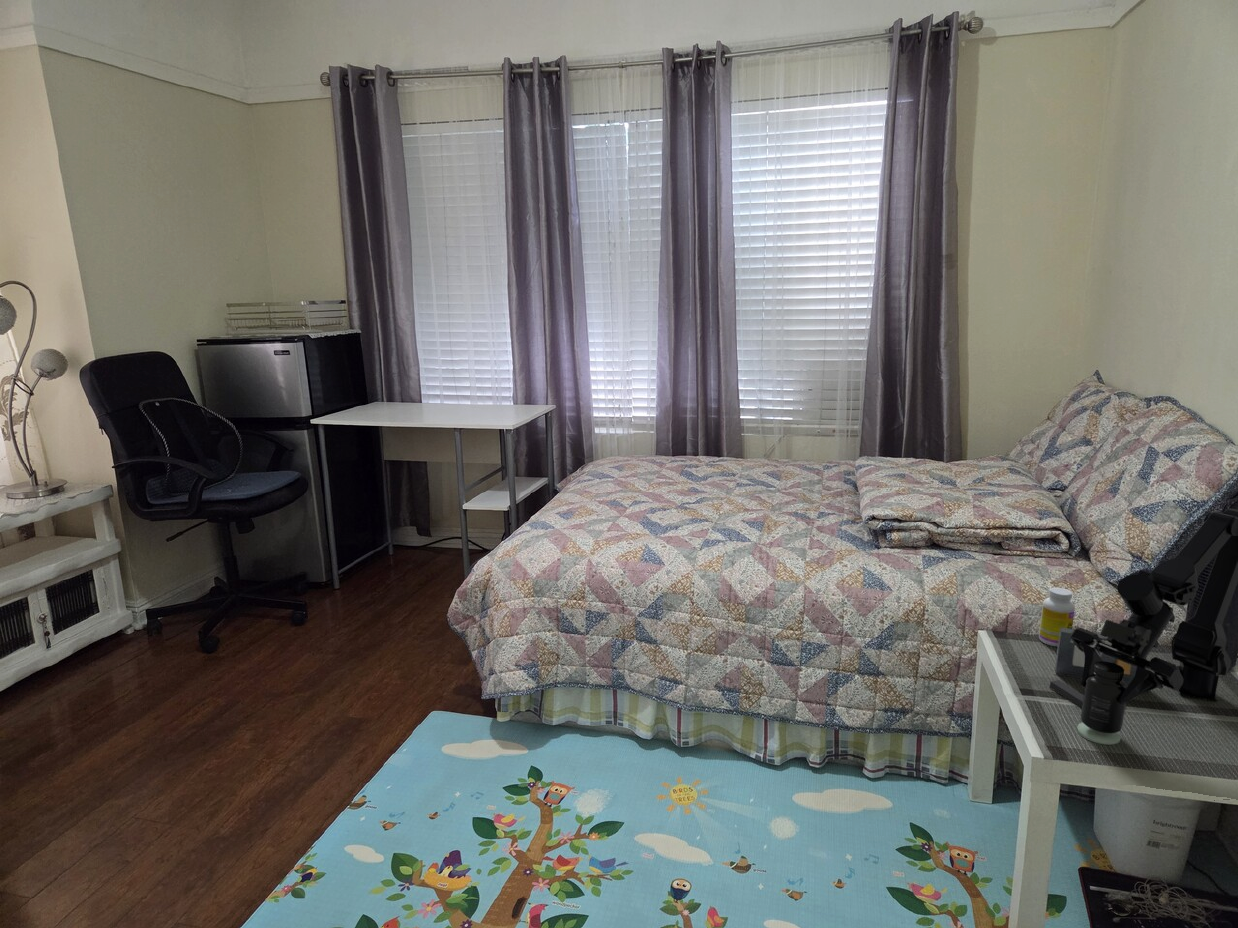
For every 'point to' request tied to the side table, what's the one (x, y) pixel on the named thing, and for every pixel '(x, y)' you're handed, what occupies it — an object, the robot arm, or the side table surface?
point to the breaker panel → (1066, 657)
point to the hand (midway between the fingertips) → (1101, 694)
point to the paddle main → (1124, 666)
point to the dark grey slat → (1067, 692)
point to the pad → (1098, 735)
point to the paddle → (1078, 657)
